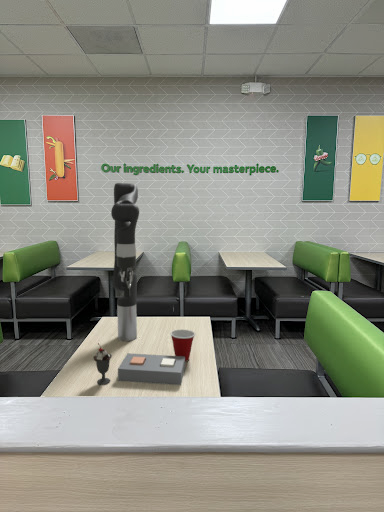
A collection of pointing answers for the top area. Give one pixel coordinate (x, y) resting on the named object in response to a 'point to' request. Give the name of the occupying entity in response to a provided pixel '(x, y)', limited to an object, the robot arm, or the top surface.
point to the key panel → (152, 370)
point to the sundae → (102, 365)
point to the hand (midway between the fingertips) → (127, 296)
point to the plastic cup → (182, 342)
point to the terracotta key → (137, 361)
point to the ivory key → (168, 362)
